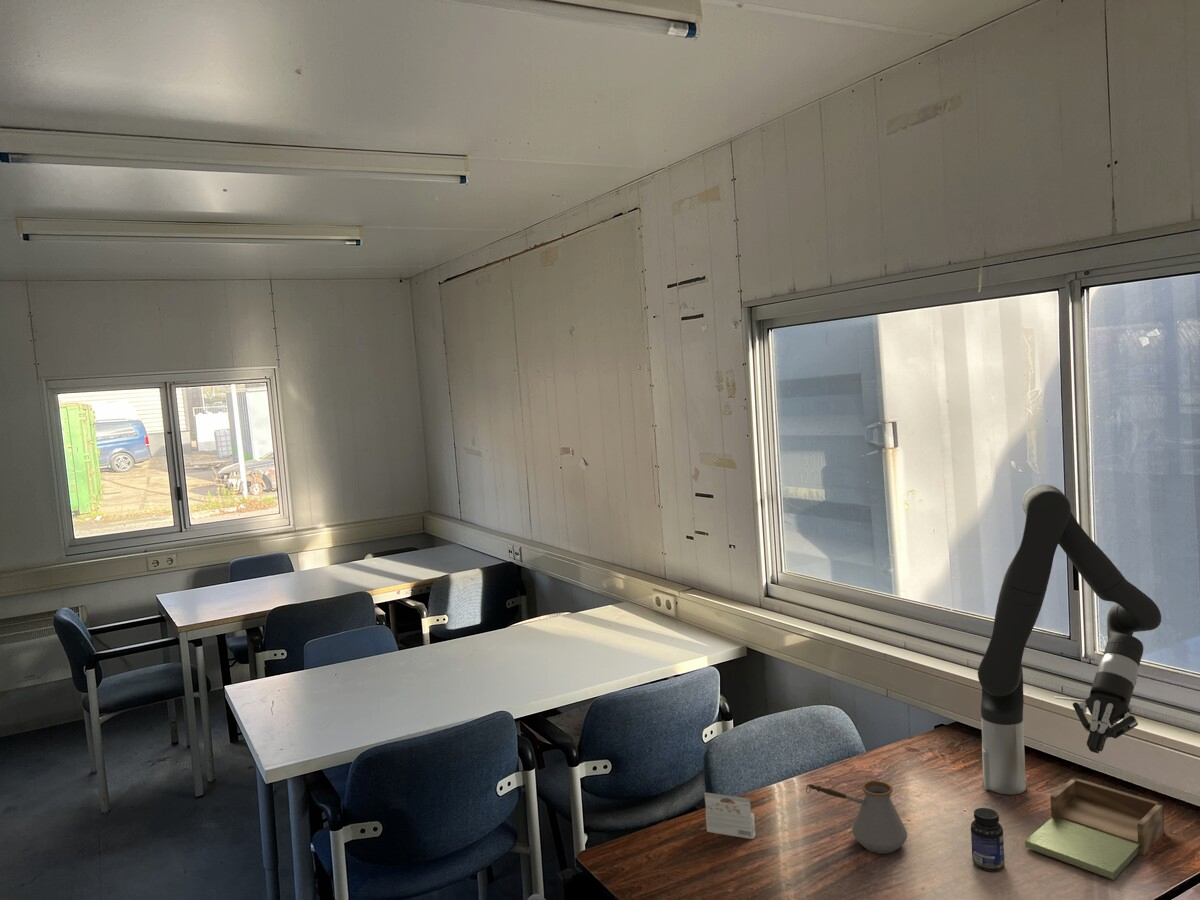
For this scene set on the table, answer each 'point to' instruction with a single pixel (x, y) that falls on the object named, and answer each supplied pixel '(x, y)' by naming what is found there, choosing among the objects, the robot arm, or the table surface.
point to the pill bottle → (987, 840)
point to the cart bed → (1110, 812)
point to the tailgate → (1083, 846)
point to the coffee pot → (875, 817)
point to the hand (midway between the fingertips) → (1093, 750)
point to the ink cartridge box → (729, 816)
